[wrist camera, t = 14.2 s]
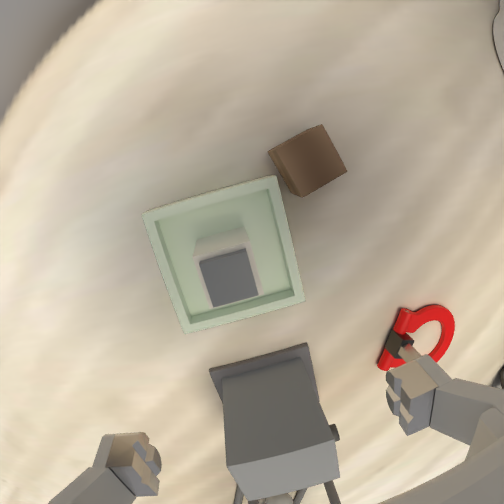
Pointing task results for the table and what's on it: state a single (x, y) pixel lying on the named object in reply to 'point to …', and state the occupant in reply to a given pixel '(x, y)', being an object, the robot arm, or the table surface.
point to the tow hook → (401, 342)
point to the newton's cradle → (285, 501)
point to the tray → (216, 221)
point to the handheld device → (502, 378)
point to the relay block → (227, 268)
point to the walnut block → (307, 161)
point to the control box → (275, 424)
